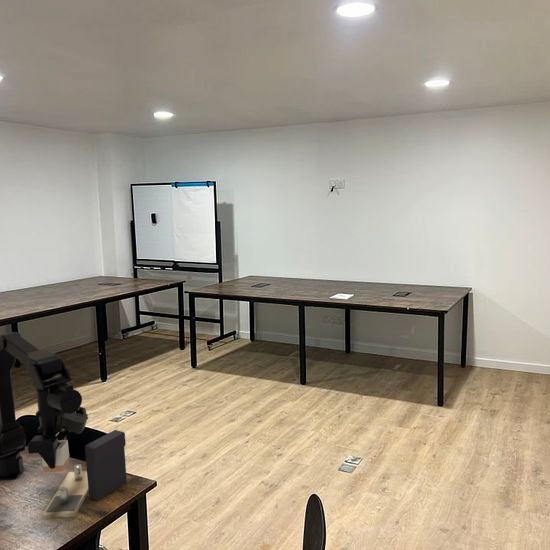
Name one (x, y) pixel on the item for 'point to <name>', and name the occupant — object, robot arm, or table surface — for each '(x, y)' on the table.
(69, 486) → the pin board
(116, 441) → the upright charcoal slab
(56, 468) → the sleeve
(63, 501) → the pins
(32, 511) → the table surface
